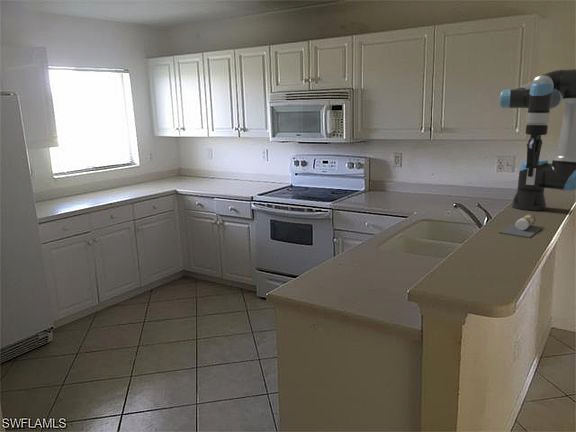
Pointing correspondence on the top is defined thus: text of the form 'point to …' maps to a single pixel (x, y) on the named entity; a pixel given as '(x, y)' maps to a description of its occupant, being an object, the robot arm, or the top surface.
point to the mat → (525, 233)
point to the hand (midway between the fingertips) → (529, 184)
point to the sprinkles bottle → (525, 222)
